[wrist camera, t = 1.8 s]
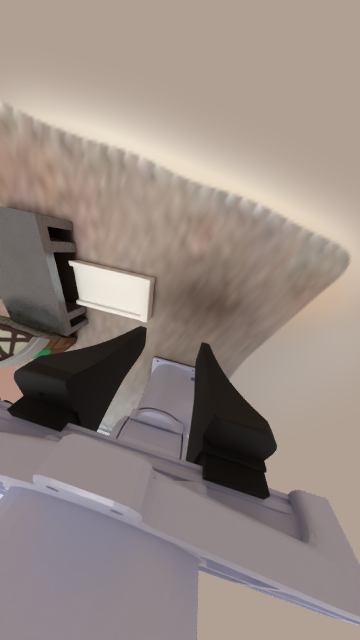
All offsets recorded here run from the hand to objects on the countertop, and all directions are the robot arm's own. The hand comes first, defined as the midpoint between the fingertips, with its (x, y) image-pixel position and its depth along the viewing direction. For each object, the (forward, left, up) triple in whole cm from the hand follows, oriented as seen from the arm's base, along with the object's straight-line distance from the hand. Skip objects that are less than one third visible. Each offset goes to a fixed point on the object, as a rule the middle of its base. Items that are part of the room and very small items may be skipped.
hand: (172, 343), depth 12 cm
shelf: (+23, 0, -9) cm, 24 cm away
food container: (+26, +14, -8) cm, 30 cm away
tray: (+11, 0, -9) cm, 15 cm away
